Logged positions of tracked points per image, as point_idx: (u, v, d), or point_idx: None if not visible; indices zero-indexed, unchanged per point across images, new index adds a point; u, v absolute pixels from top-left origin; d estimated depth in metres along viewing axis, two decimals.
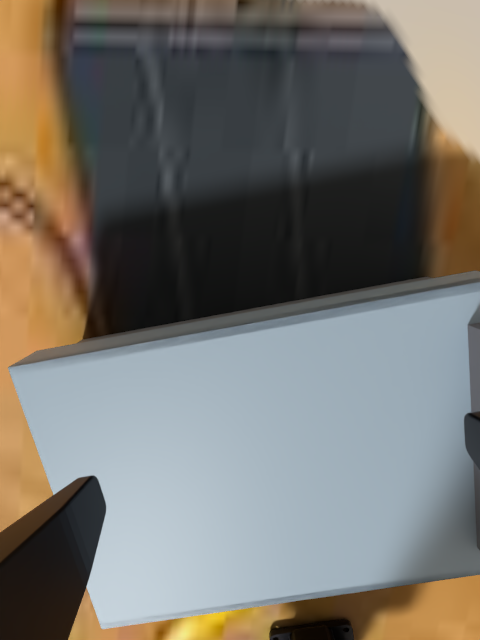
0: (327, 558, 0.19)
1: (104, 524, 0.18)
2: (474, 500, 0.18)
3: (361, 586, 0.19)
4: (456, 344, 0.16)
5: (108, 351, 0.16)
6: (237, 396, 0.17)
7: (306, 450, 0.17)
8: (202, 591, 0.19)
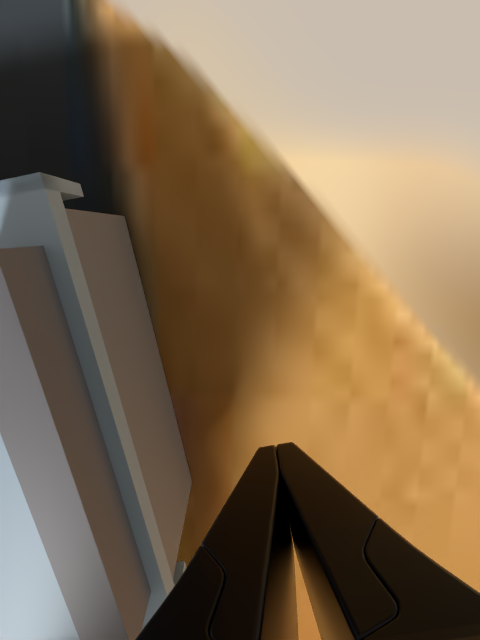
0: None
1: None
2: None
3: None
4: None
5: None
6: None
7: None
8: None
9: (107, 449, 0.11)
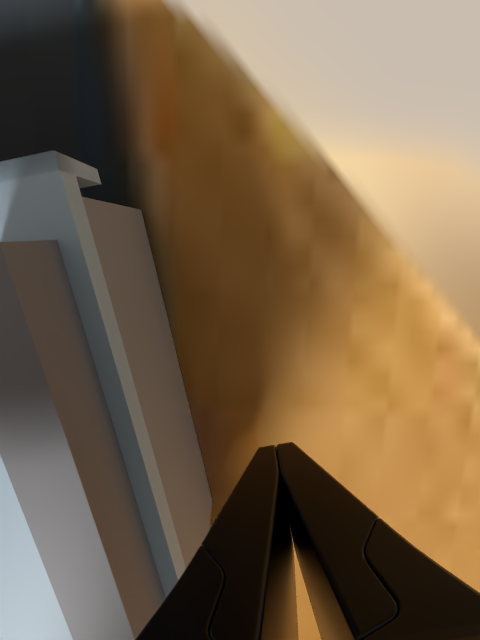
0: None
1: None
2: None
3: None
4: None
5: None
6: None
7: None
8: None
9: (130, 479, 0.10)
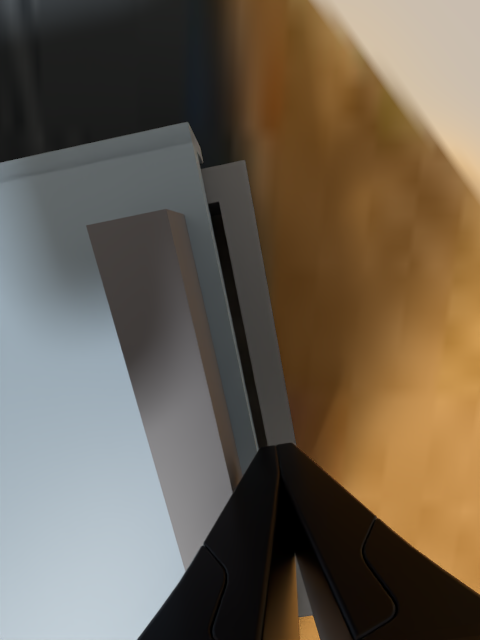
0: None
1: None
2: None
3: None
4: None
5: None
6: None
7: None
8: None
9: (240, 461, 0.09)
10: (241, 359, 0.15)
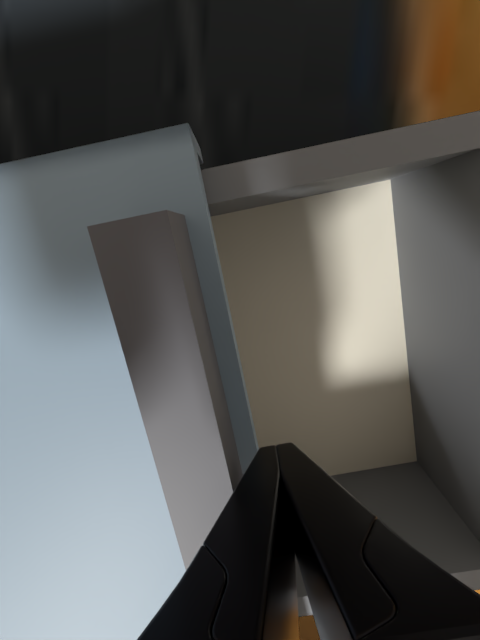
0: None
1: None
2: None
3: None
4: None
5: None
6: None
7: None
8: None
9: (240, 461, 0.10)
10: (389, 331, 0.15)
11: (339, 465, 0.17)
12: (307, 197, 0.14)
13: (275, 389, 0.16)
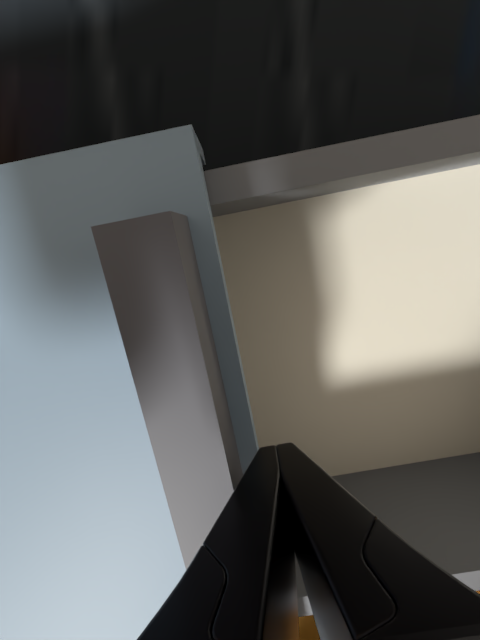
0: None
1: None
2: None
3: None
4: None
5: None
6: None
7: None
8: None
9: (241, 461, 0.10)
10: None
11: (425, 452, 0.17)
12: (412, 178, 0.14)
13: (365, 374, 0.16)
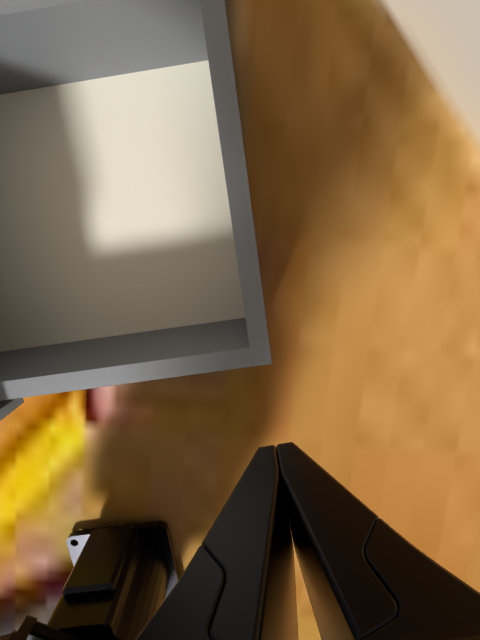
0: None
1: None
2: None
3: None
4: None
5: None
6: None
7: None
8: None
9: None
10: (217, 196, 0.18)
11: (182, 318, 0.20)
12: (142, 71, 0.17)
13: (124, 244, 0.19)
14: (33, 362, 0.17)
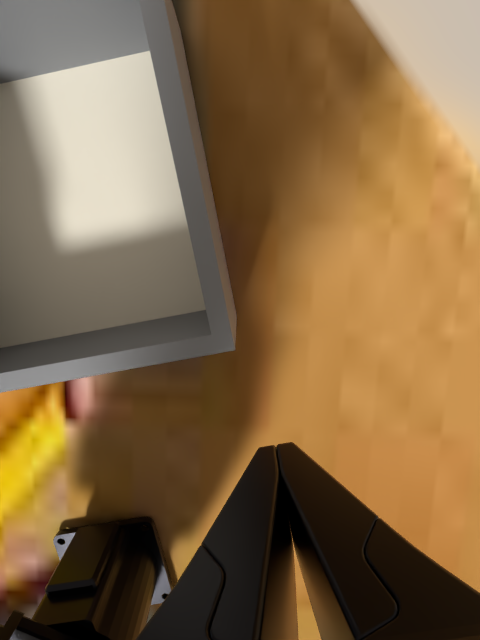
0: None
1: None
2: None
3: None
4: None
5: None
6: None
7: None
8: None
9: None
10: None
11: (153, 311, 0.20)
12: (98, 62, 0.17)
13: (91, 238, 0.19)
14: (2, 360, 0.17)
